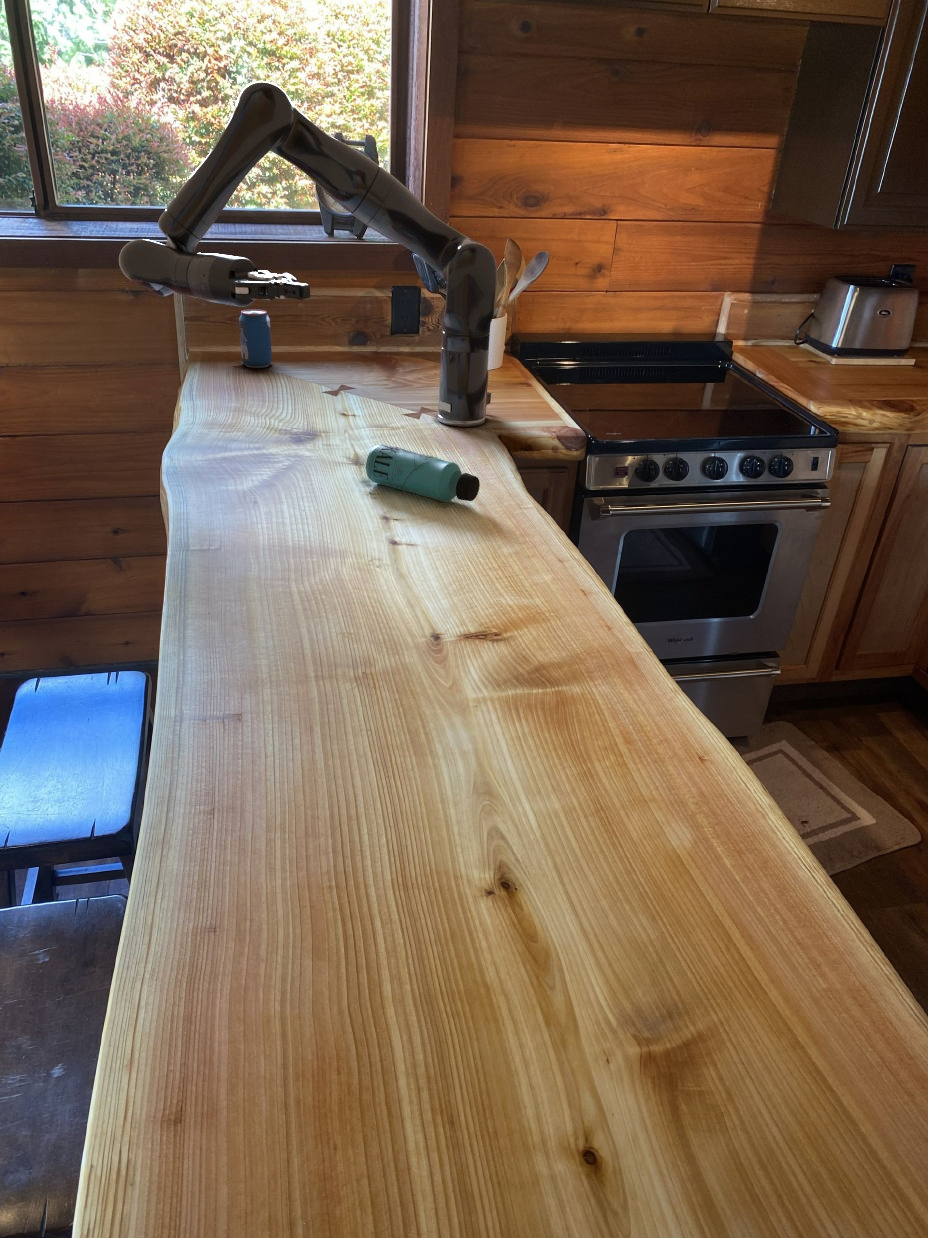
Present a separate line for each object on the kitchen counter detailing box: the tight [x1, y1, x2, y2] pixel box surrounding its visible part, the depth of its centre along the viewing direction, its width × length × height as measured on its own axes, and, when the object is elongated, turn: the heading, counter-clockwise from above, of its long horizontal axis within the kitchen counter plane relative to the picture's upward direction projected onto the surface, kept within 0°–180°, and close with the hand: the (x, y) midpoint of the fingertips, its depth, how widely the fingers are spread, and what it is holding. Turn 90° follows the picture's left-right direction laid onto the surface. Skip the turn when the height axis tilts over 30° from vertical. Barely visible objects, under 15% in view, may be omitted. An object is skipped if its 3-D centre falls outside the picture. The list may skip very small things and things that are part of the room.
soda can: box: [238, 308, 273, 369], centre depth 207 cm, size 7×7×12 cm
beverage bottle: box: [365, 443, 481, 503], centre depth 141 cm, size 6×7×20 cm
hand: (307, 292), depth 139 cm, fingers closed
